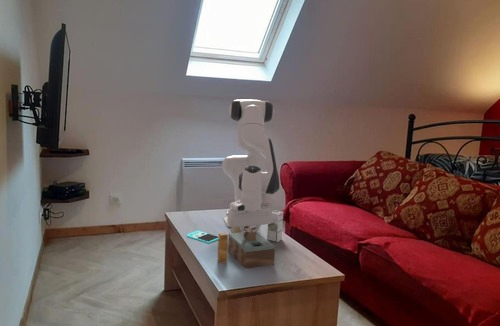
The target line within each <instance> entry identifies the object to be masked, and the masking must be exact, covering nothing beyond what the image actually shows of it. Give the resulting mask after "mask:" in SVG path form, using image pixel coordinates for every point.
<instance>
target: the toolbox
mask: <svg viewBox="0 0 500 326" xmlns="http://www.w3.org/2000/svg"><path fill="white" fill-rule="evenodd" d="M253 246H254V247H255V246H260V245H253ZM275 250H276V248H275V249H268V250H259V251H251V252H246V251H244V250H243V249H242V248H241V247H240V246H239V245H238V244H237V243H236V242H235V241H233V240H232V239H231V238H230V237H229V236H228V244H227V252H229V254H230V255H231V256H232V257H233V258H234V259H236V260H237V262H238V263H239V264H240V265H241V266H242V267H243V268H244V269H254V268H259V267H260V268H261V267H267V266H273V265H275V252H276V251H275Z"/></svg>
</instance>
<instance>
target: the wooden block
mask: <svg viewBox="0 0 500 326" xmlns="http://www.w3.org/2000/svg"><path fill="white" fill-rule="evenodd" d="M217 236H218V240H217V241H218V242H217V261H218V263H220V264H222V263H228V261H227V260H228V243H229V234H227V233H226V232H219V233H218V235H217Z"/></svg>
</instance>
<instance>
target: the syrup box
mask: <svg viewBox="0 0 500 326" xmlns="http://www.w3.org/2000/svg"><path fill="white" fill-rule="evenodd" d="M283 222H284V211H280V210H274V209H272V223H271V224H267V234H266V235H267V236H266V239H267V240H268V241H269V242H274V243H278V242H280V241H281V240H282V239H283V226H284V225H283V224H284V223H283Z"/></svg>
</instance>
